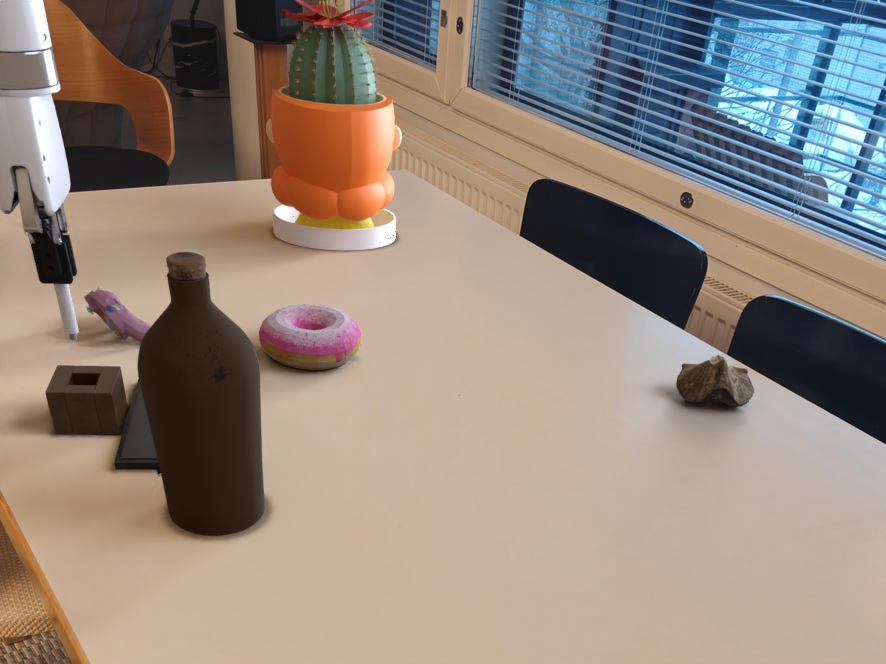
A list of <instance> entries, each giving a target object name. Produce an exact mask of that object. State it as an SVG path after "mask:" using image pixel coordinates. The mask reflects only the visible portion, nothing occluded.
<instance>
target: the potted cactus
mask: <svg viewBox="0 0 886 664" xmlns="http://www.w3.org/2000/svg"><path fill="white" fill-rule="evenodd" d="M292 1H293V2H295V3H297V4H298V5H300V6H302V7H303V8H305V9H307V10H309V13H307V12H298V13H296V12H293V11H290V10H288V9H286V8H282V9H281V15H283V16H285V17H286V18H289V19H292V20H295V21H300V22H304V23H308V24H306V26H305V25H303V26H302V25H301V27H300V30H301V32H302V34H301V33H300V31H298V32H296V33H295V35H296V36H297V41H295V40H292V42H291V45H290V46H292V47H293V48H294V49H293V51H292V50H291V49H290V48H288V50H289V51H288V50H286V52H287V54H288V57H289V56H290V57H291V58H290V61H289V60H287V61H286V63H285V66H287V67H284V68H289V71H288V70H286V71H284V72H283V74H284V76H286V77H287V78H288V81H286V80H285V85H284V86H282V87H280V88H279V89H278V88H272V90H271V100H270V118H269V119H268V120H267V122H266V125H265V133H266V136H267V139H268V140H269V141H270V142H271V143H272V144H274V148H275V152H276V154H277V156H278V160H279V161H280V165H278V166H277V167H276V168H275V169H274V170H273V173H272V175H271V179H270V180H271V181H270V187H271V192H272V194H273V196H274V198H275V199H276V200H277V201H278V202H279V205H277V206H275V207H274V208H273V209H272V212H271V213H272V228H273V229H272V230H273V235H274V236H275V237H276V238H277V239H279V240H281V241H282V242H283V241H284V242H286V243H288V244H291V245H295V246H299V247H304V248H310V249H318V250H325V251H326V250H327V251H365V250H372V249H378V248H381V247H385V246H388V245H390V244H392V243H393V242H395V240H396V232H397V231H396V227H397V226H396V225H397V217H396V214H394V212H392V211H390V210H388V209H386V208H385V207H387V206H388V205H389V204H390V203H391V202H392V200H393V198H394V195H395V189H396V188H395V182H394V178H393V177H392V175H391V174H390V173H389V172H388V171H387V170H388V167H389V165H390V163H391V159H392V154H393V151H395V150H397V149H398V148H399V147H400V145H401V143H402V139H403V135H402V129H400V127H399V126H398V125H397V124H395V122H396V121H395V120H396V119H395V109H394V101H393V98H392V96H390V95H388V96H385V95H384V94H382V93H381V92H379V91H377V90H379V87H377V85H376V84H378V85H380V81H381V80H376V79H377V78H379V76H377V77H375V74H379V71H378V66H377V67H375V68H374V65H373V64H372V63H374V62H376V58H375V56H374V54H373V51H371V50H372V48H369V46H370V45H368V46H367V48H366V46H365V45H366V44H367V43H369V39H368V40H367V37H365V35H363V37H364V38H362V39H361V37H360V36H361V34H363V32H364V31H363V32H362V31H361V30H359V29H367V28H371V26H373V23H372V21H371V20H368V19H370V18H372V17H375V16H376V14H375V13H374V12H372V11H360V12H357V13H356V12H355V11H356V10H359V9H361V8H363V7H364V6H365V5H366V4H368V3H370V2H375V0H365V1H361V2H360V3H359V4H357V5H356V6H354V7H352V8H351V9H348V10H346V11H344V12H342V10H340V9H339V8H340V7H342V6H343V4H342V2H339V1H337V0H336V2H335V4H336V6H337V7H335V6H333V3H332V0H326V2H325V1H324V0H322V3H321V0H319V2H318V3H315V4H312V5H310V4H308V3H307V2H306V1H304V0H292ZM329 4H330V5H329ZM353 12H355V13H353ZM352 13H353V14H352ZM354 29H357V30H356V31H354ZM366 40H367V41H366ZM370 54H371V56H370ZM376 87H377V88H376ZM298 215H299V216H298ZM293 216H294V217H293ZM371 218H374V219H377V220H380V221H383V222H385V223H387V224H384V223H381V222H379V221H375V220H372V219H371ZM395 231H396V232H395ZM393 235H394V236H393ZM390 237H391V238H390ZM388 238H389V239H388Z"/></svg>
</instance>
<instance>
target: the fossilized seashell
mask: <svg viewBox="0 0 886 664" xmlns="http://www.w3.org/2000/svg"><path fill="white" fill-rule="evenodd" d="M748 374H749V370H748V368H745V367H737V366H734V365H731V364H730V365H729V363H728V361H727V359H726V358H725V357H724V356H723V355H722V354H717V355H712V356H711V357H710V358H709V359H707V360H704V361H702V362H700V363H685V362H683V363H682V364H681V370H680V372H679V373H678V375H677V378H676V382H675V384H676V389H677V392H678V393H679V395H680V397H681V398H682V400H684V401H686V402H689V403H694V404H697V403H704V402H705V403H706V402H708V401H712V400H713V399H714V400H715V399H716V400H718V401H719V402H722V403H724V404H725V405H727V406H729V407H732V408H733V407H734V408H740V407H743V406H745V405H747V404H748V403H749V402H750V400H751V399H752V398H753V397H754V393H755V387H754V385H753V383H752V380H751V378H750V376H749V375H748Z"/></svg>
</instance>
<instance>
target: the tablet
mask: <svg viewBox="0 0 886 664" xmlns="http://www.w3.org/2000/svg"><path fill="white" fill-rule="evenodd" d="M157 464H158V459H157V455H156V450H155V446H154V442H153V437H152V433H151V428H150V424H149V420H148V415H147V411H146V407H145V403H144V399H143V394H142V390H141V386H140V382H139V377H138V379H137V381H136V385H135V388H134V393H133V395H132V399H131V403H130V405H129V409H128V413H127V416H126V420H125V423H124V427H123V430H122V433H121V437H120V440H119V444H118V447H117V451H116V454H115V458H114V461H113V465H114V469H115V470H156V465H157Z"/></svg>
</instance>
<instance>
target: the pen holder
mask: <svg viewBox="0 0 886 664" xmlns="http://www.w3.org/2000/svg"><path fill="white" fill-rule="evenodd" d="M124 383H125V382H124V378H123V372H122V367H121V366H120V365H70V364H69V365H67V364H57V365H56V368H55V370H54V372H53V374H52V376H51V378H50V381H49V383H48V385H47V387H46V388H45V389H46V390H45V392H44V394H45V398H46V402H47V406H48V409H49V410H48V411H49V414H50V417H51V423H52V426H53V430H54V434H55V435H120V434H121V430H122V427H123V424H124V420H125V418H126V415H127V411H128V407H129V405H128V399H127V394H126V393H127V392H126V389H125V384H124Z"/></svg>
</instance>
